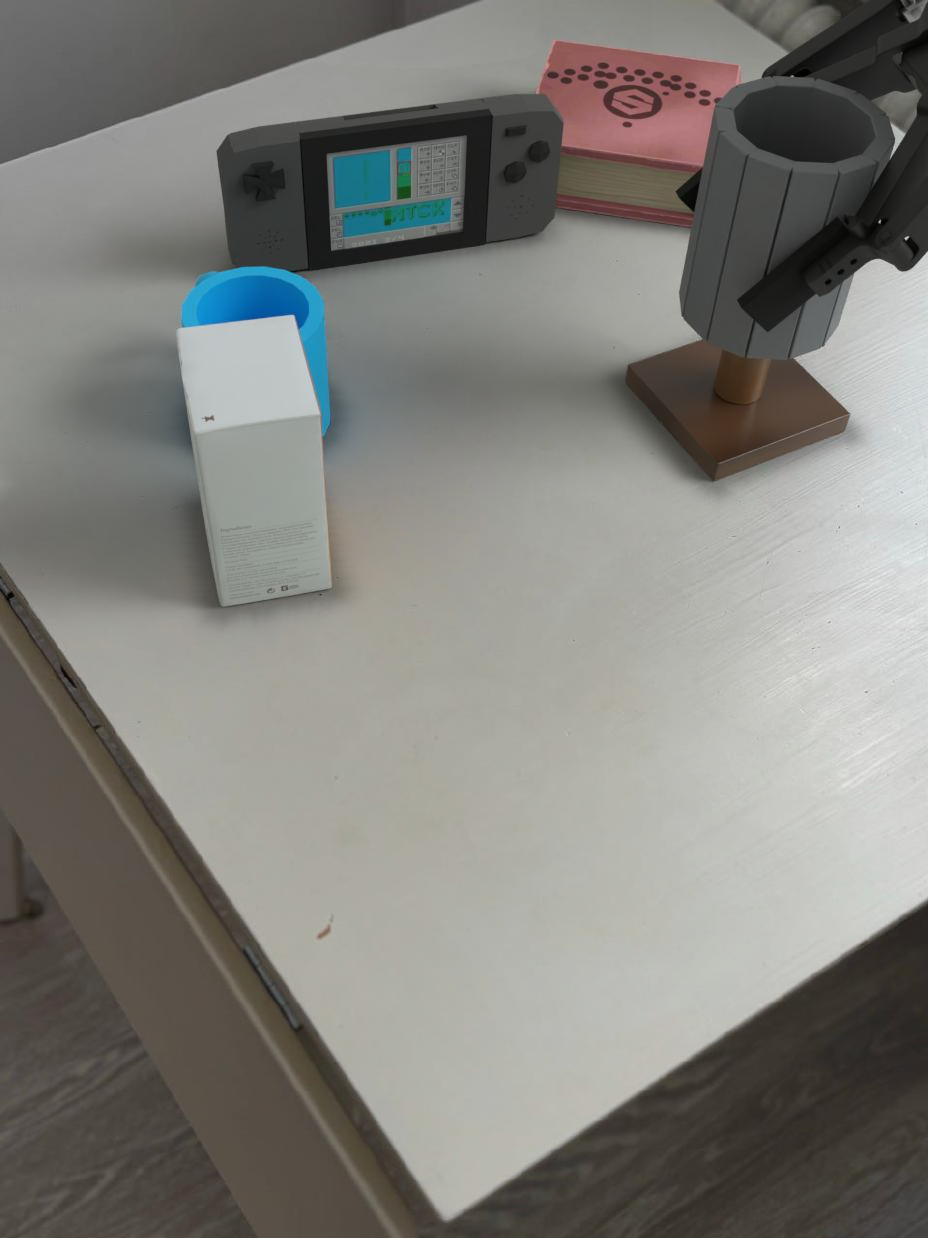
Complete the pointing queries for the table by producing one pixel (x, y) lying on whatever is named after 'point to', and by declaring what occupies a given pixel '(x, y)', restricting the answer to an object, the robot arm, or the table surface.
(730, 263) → the slatted grey tube
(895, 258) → the robot arm
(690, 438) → the stand
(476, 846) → the table surface
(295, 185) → the handheld gaming console
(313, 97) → the table surface
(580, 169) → the book
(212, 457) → the small box
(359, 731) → the table surface
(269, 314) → the mug
